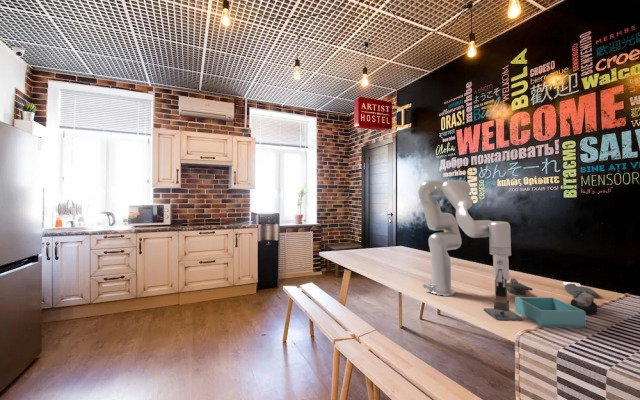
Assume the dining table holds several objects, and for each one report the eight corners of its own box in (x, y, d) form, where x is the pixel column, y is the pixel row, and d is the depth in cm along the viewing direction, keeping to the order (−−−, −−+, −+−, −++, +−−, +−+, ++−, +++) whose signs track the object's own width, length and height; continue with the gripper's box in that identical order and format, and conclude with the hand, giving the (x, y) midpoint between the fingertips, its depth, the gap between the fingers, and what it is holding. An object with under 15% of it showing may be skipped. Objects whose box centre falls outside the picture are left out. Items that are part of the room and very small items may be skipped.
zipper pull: (511, 286, 133) (502, 274, 155) (512, 300, 133) (503, 286, 155) (534, 288, 129) (522, 276, 152) (535, 303, 129) (522, 288, 151)
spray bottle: (571, 296, 138) (557, 284, 159) (600, 299, 132) (583, 287, 154) (570, 290, 138) (557, 279, 159) (600, 293, 132) (582, 281, 154)
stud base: (496, 320, 111) (496, 306, 111) (483, 310, 120) (483, 297, 121) (522, 320, 110) (522, 306, 110) (507, 310, 120) (507, 298, 120)
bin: (541, 326, 104) (541, 310, 104) (515, 311, 119) (515, 297, 119) (585, 327, 103) (585, 311, 103) (553, 311, 118) (553, 297, 118)
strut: (509, 311, 112) (508, 281, 112) (493, 309, 115) (493, 280, 115) (509, 307, 116) (508, 278, 116) (494, 305, 119) (493, 277, 119)
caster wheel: (583, 321, 114) (563, 308, 124) (611, 315, 114) (588, 303, 124) (582, 306, 114) (561, 294, 123) (609, 300, 113) (586, 289, 123)
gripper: (510, 254, 107) (512, 302, 106) (511, 248, 120) (512, 291, 120) (488, 253, 111) (489, 298, 111) (490, 247, 125) (491, 288, 124)
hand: (501, 294), depth 115 cm, fingers closed on strut, 4 cm apart
